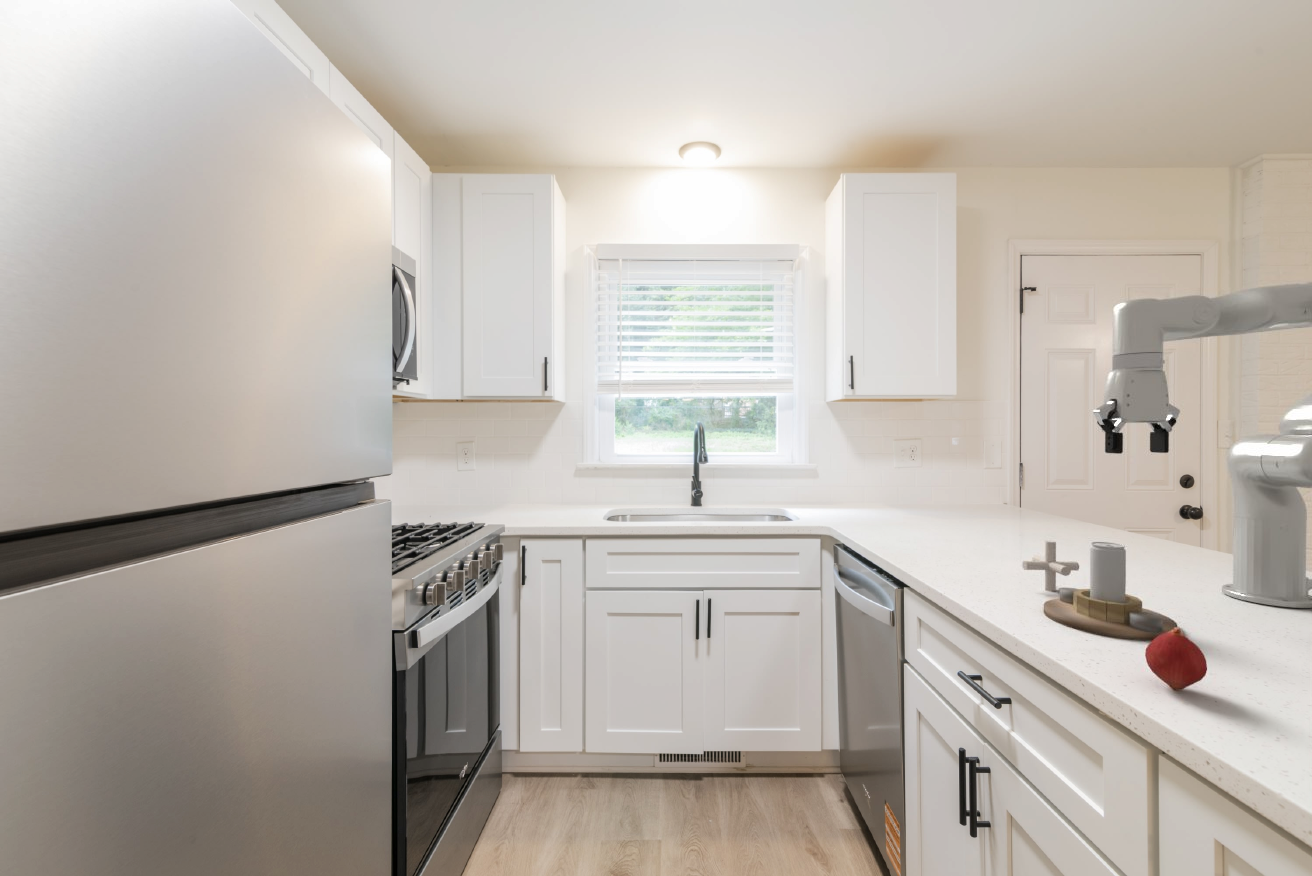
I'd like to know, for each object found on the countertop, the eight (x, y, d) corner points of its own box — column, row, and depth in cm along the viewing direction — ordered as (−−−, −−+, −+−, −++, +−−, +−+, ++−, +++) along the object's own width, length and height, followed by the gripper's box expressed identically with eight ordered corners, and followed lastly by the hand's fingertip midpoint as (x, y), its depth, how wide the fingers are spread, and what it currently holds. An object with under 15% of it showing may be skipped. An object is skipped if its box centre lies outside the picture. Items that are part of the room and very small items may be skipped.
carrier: (1107, 602, 108) (1107, 580, 108) (1209, 637, 90) (1209, 611, 90) (1019, 606, 106) (1019, 584, 106) (1105, 642, 88) (1106, 616, 88)
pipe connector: (1061, 583, 121) (1061, 536, 120) (1092, 597, 111) (1092, 546, 111) (1011, 582, 122) (1011, 536, 121) (1038, 596, 112) (1038, 546, 112)
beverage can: (1117, 610, 99) (1117, 542, 99) (1131, 619, 95) (1131, 548, 95) (1085, 608, 101) (1085, 541, 101) (1097, 616, 96) (1097, 546, 96)
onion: (1133, 680, 75) (1133, 620, 75) (1173, 678, 76) (1173, 618, 75) (1177, 701, 69) (1177, 636, 69) (1220, 698, 70) (1220, 634, 70)
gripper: (1158, 366, 114) (1157, 451, 115) (1079, 366, 112) (1079, 452, 113) (1197, 362, 107) (1196, 453, 107) (1114, 362, 105) (1113, 454, 105)
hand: (1136, 452), depth 110 cm, fingers open, 9 cm apart
